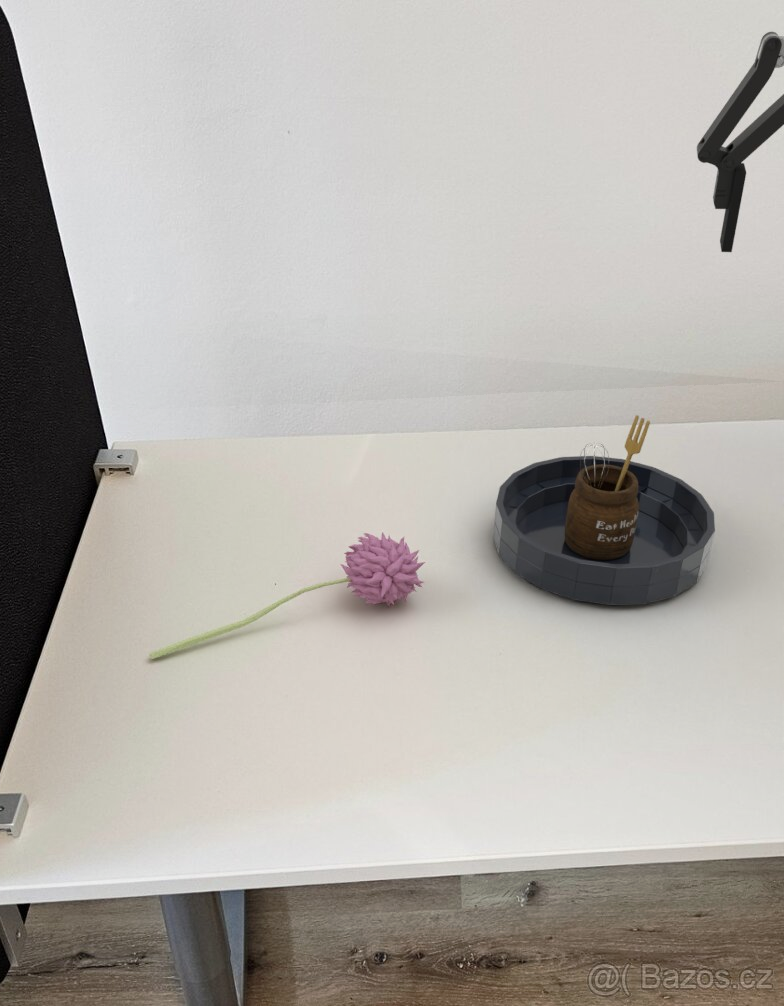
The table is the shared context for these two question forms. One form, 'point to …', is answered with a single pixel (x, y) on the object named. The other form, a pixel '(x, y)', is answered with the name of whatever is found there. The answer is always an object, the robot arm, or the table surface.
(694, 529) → the bowl
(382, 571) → the artificial flower
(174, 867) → the table surface
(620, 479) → the utensil holder
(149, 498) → the table surface
